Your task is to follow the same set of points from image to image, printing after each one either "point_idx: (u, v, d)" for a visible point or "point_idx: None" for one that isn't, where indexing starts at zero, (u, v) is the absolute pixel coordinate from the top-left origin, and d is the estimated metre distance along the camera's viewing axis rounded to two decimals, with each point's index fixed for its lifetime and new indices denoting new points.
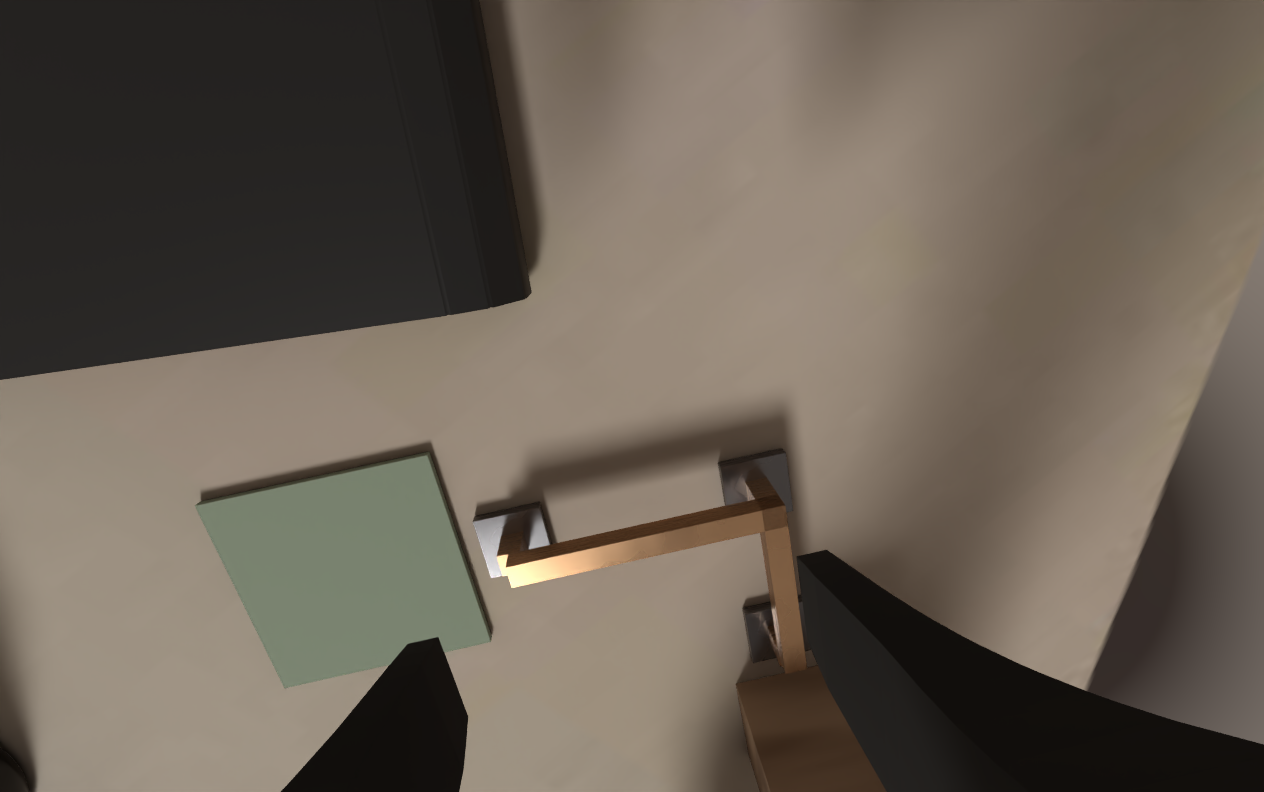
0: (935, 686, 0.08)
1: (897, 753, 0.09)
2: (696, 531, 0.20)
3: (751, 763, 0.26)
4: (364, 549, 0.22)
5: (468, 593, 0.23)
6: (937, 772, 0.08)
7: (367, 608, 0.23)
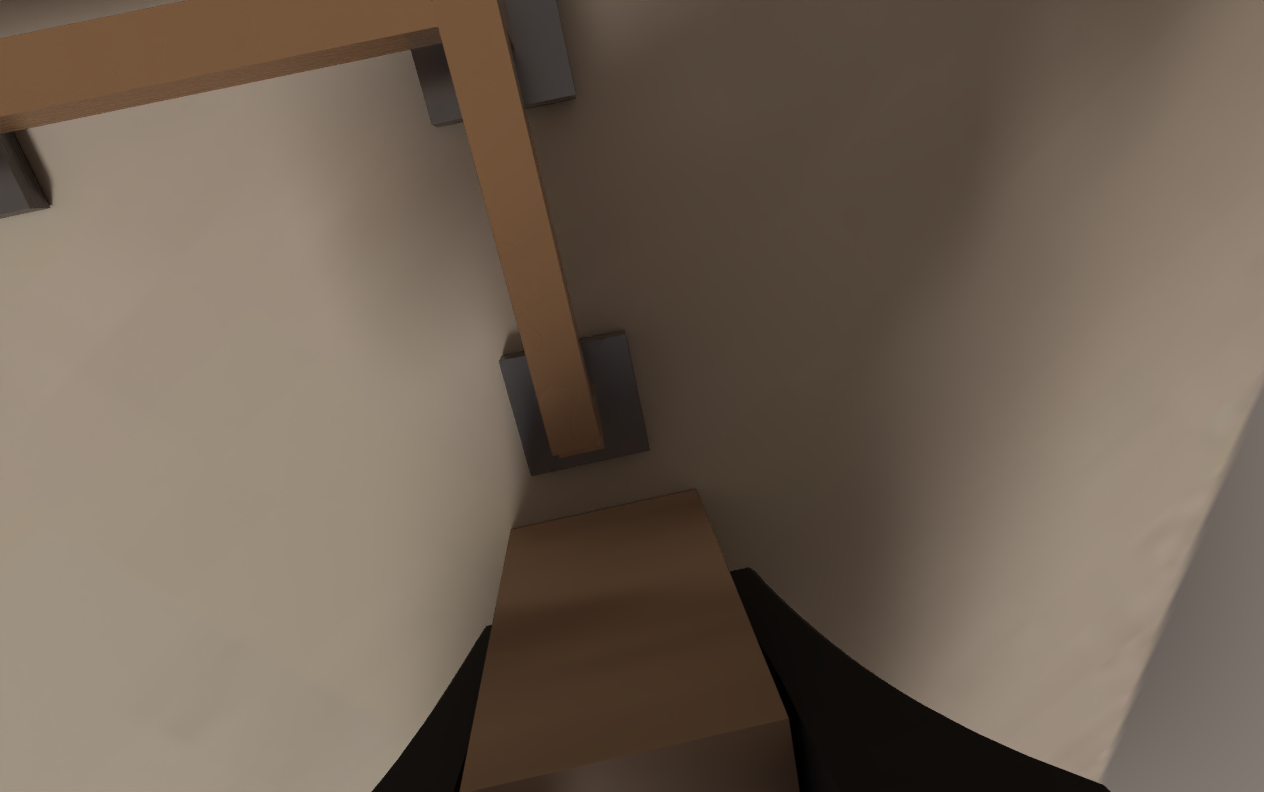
0: (814, 714, 0.07)
1: None
2: (245, 11, 0.08)
3: None
4: None
5: None
6: None
7: None
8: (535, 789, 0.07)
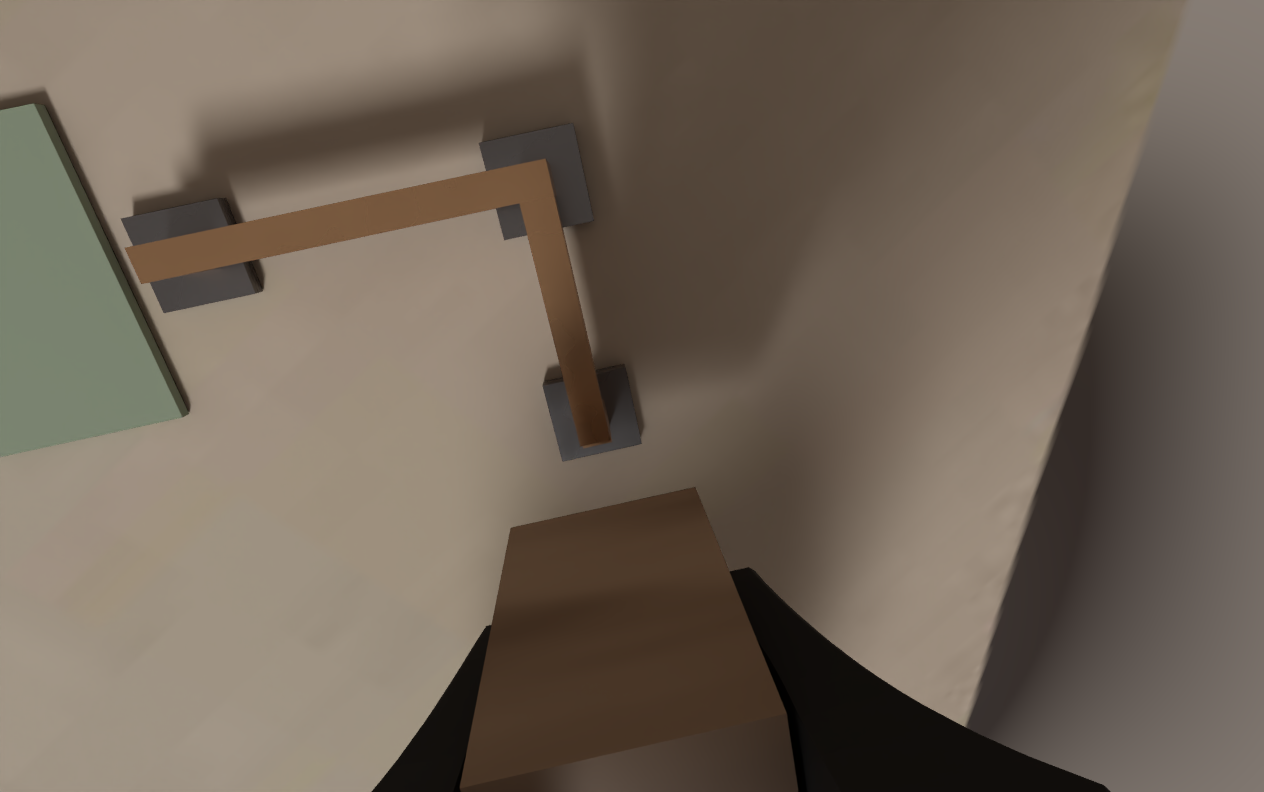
0: (814, 714, 0.07)
1: None
2: (413, 197, 0.14)
3: None
4: None
5: (136, 338, 0.16)
6: None
7: None
8: (534, 784, 0.07)
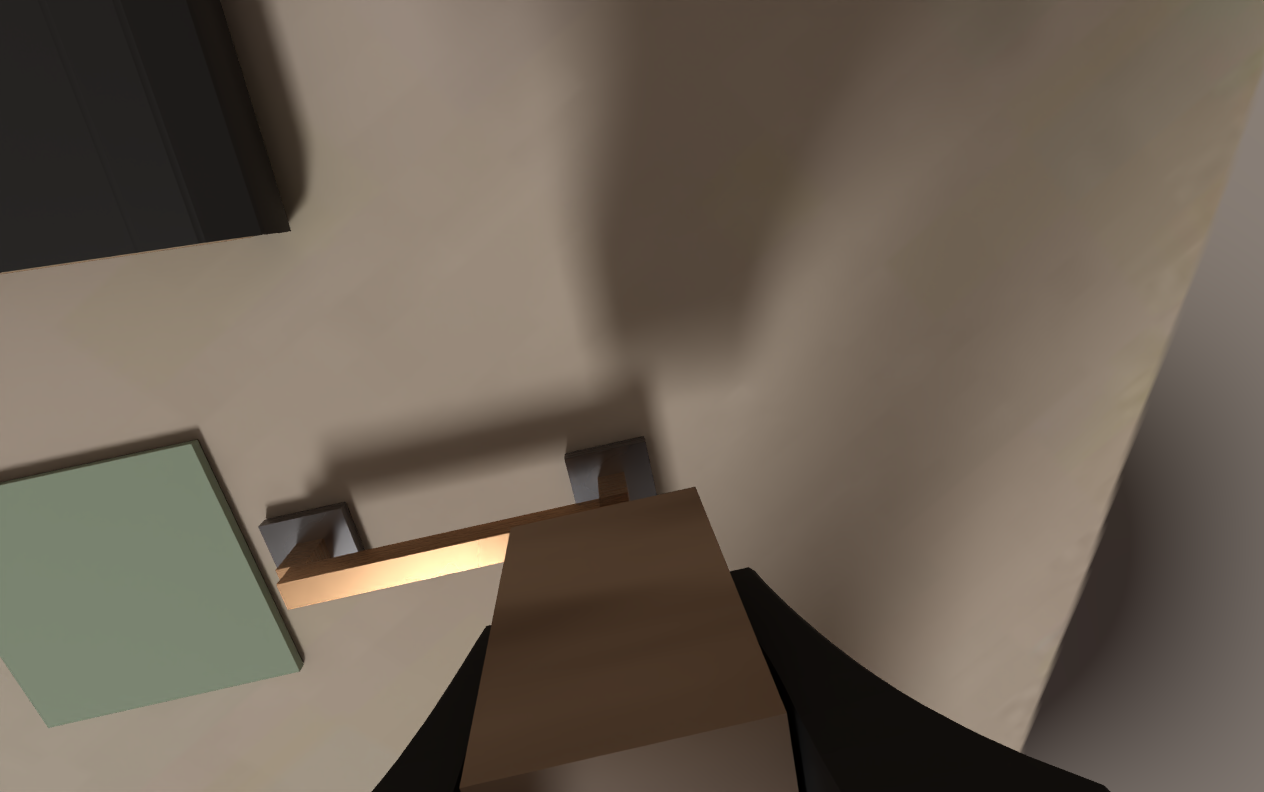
0: (814, 714, 0.07)
1: None
2: None
3: None
4: (125, 560, 0.18)
5: (264, 613, 0.19)
6: None
7: (139, 631, 0.18)
8: (535, 783, 0.07)
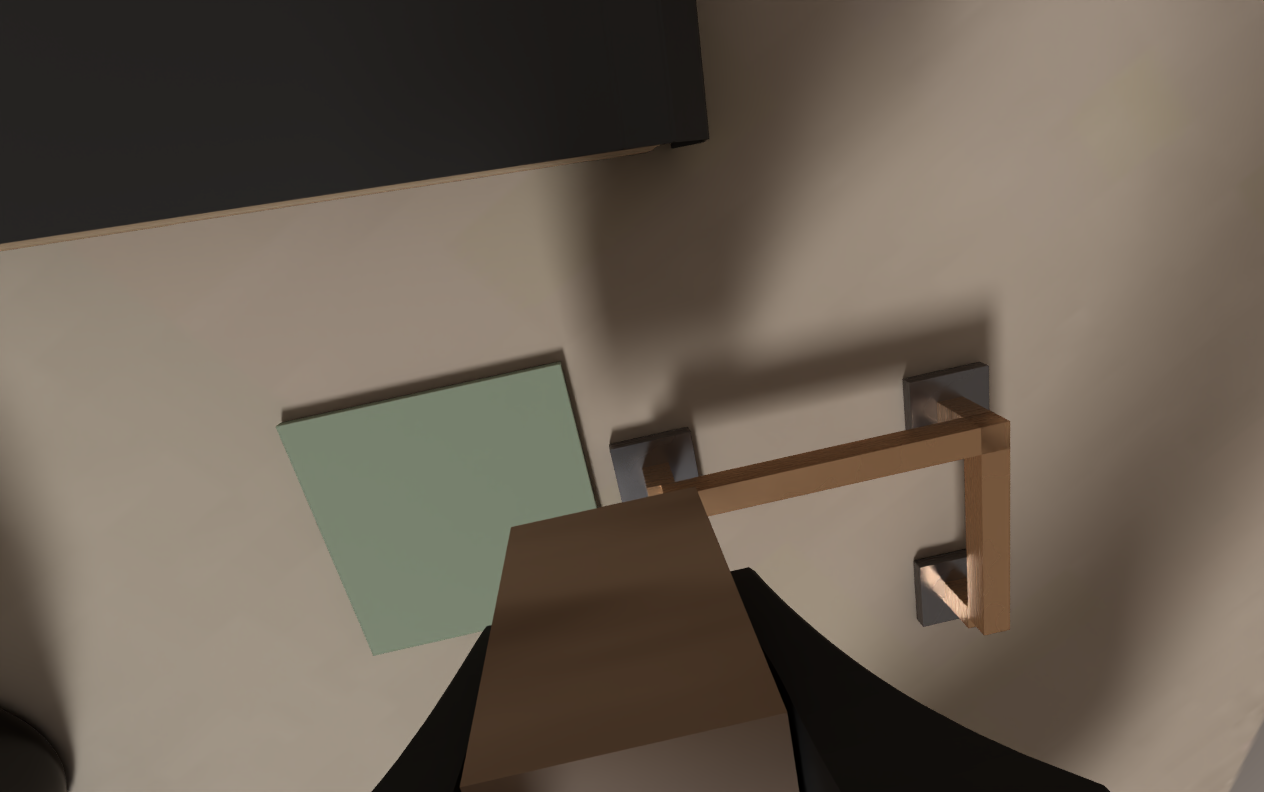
0: (814, 714, 0.07)
1: None
2: (899, 454, 0.16)
3: None
4: (477, 483, 0.18)
5: None
6: None
7: (476, 557, 0.19)
8: (535, 783, 0.07)
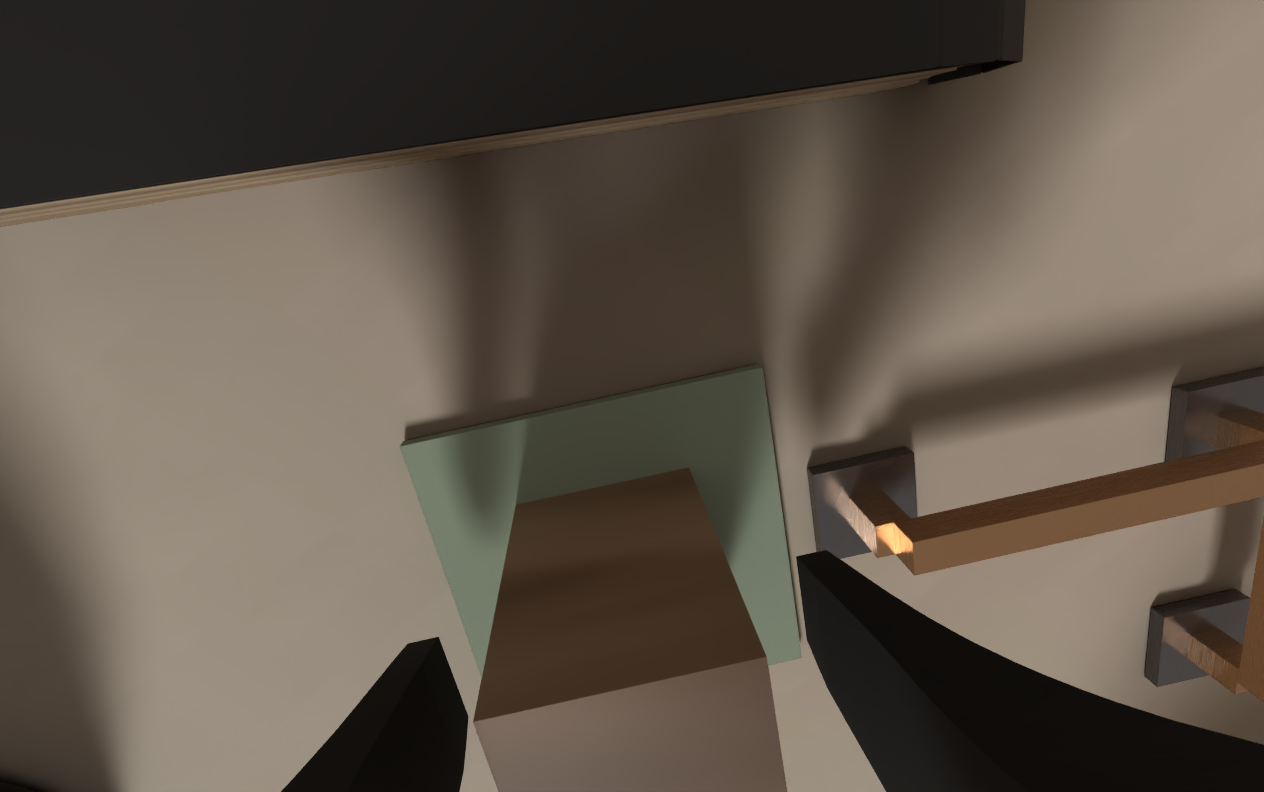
0: (935, 686, 0.08)
1: (896, 753, 0.09)
2: (1212, 485, 0.13)
3: None
4: None
5: (783, 585, 0.15)
6: (937, 772, 0.08)
7: None
8: (540, 719, 0.08)
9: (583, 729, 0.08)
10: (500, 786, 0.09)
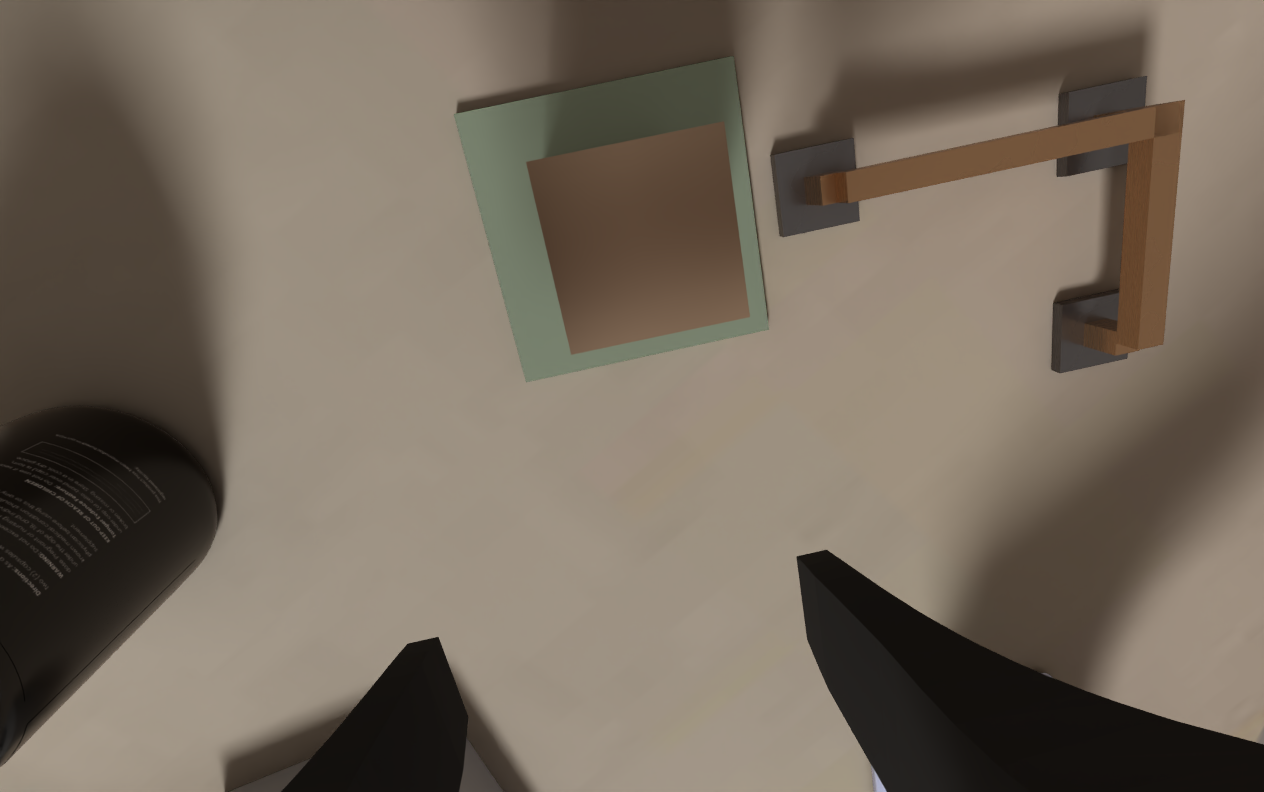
0: (935, 686, 0.08)
1: (897, 754, 0.09)
2: (1075, 132, 0.17)
3: None
4: None
5: (753, 259, 0.19)
6: (937, 772, 0.08)
7: None
8: (571, 164, 0.12)
9: (599, 176, 0.12)
10: (542, 222, 0.12)
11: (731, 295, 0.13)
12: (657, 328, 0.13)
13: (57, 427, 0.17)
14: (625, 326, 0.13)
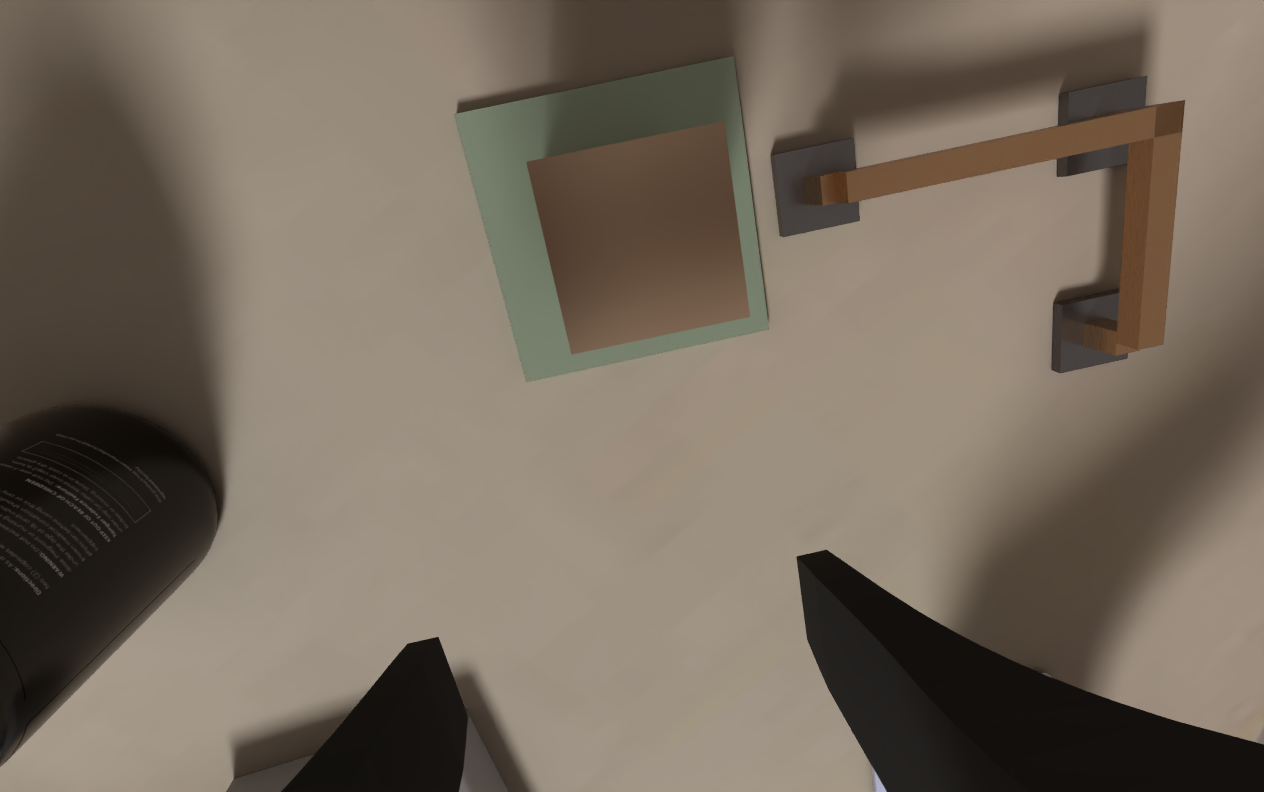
0: (935, 686, 0.08)
1: (897, 754, 0.09)
2: (1075, 132, 0.17)
3: None
4: None
5: (753, 259, 0.19)
6: (937, 772, 0.08)
7: None
8: (571, 163, 0.12)
9: (600, 176, 0.12)
10: (543, 222, 0.12)
11: (731, 295, 0.13)
12: (658, 328, 0.13)
13: (57, 427, 0.17)
14: (625, 326, 0.13)
